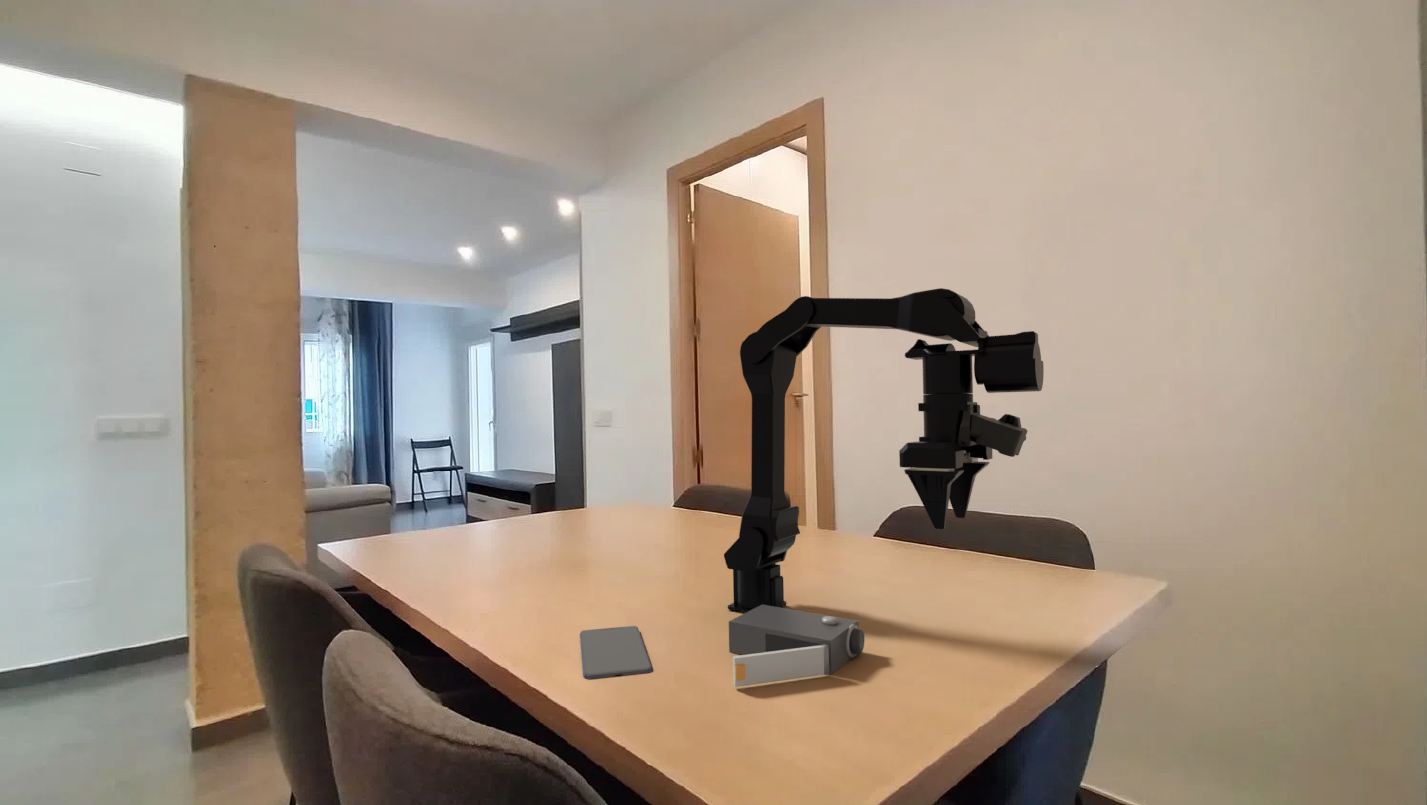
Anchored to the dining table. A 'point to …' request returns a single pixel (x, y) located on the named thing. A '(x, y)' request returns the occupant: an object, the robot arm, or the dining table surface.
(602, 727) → the dining table surface
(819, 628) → the block
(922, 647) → the dining table surface
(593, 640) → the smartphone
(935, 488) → the robot arm
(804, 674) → the side door
